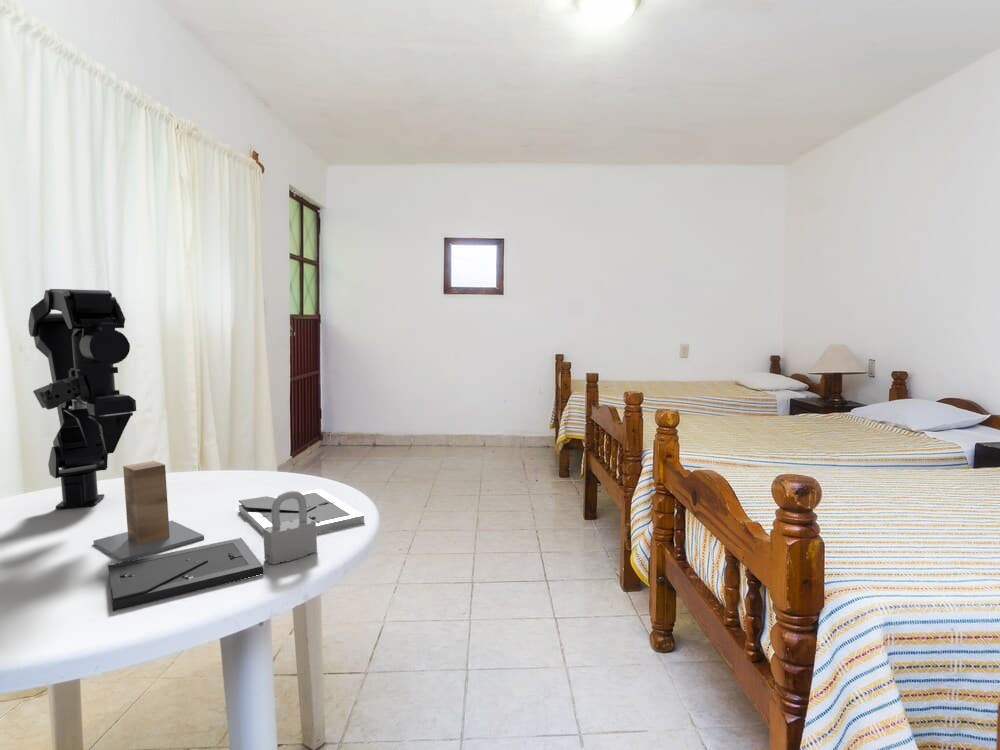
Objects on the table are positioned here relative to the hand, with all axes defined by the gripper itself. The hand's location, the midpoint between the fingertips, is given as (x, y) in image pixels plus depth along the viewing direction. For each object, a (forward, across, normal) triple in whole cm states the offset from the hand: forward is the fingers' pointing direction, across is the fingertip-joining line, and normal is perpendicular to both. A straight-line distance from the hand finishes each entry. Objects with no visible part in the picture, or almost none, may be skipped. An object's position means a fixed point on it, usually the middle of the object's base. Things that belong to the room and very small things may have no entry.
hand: (100, 449), depth 105 cm
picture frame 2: (+14, +26, +23) cm, 37 cm away
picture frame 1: (+14, +35, -1) cm, 38 cm away
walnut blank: (+12, +17, +1) cm, 21 cm away
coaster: (+13, +17, +1) cm, 21 cm away
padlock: (+13, +41, +12) cm, 45 cm away
